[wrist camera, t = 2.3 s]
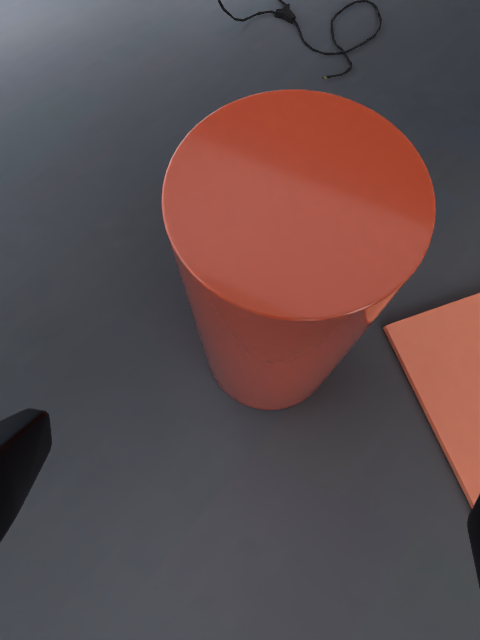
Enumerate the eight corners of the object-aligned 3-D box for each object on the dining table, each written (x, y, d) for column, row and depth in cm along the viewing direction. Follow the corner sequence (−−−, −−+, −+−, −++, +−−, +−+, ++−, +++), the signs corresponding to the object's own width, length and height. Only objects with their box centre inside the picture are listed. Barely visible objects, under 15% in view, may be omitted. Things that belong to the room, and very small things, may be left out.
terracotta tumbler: (350, 385, 22) (489, 266, 9) (230, 428, 21) (209, 361, 9) (302, 275, 24) (364, 62, 11) (191, 312, 23) (131, 127, 11)
